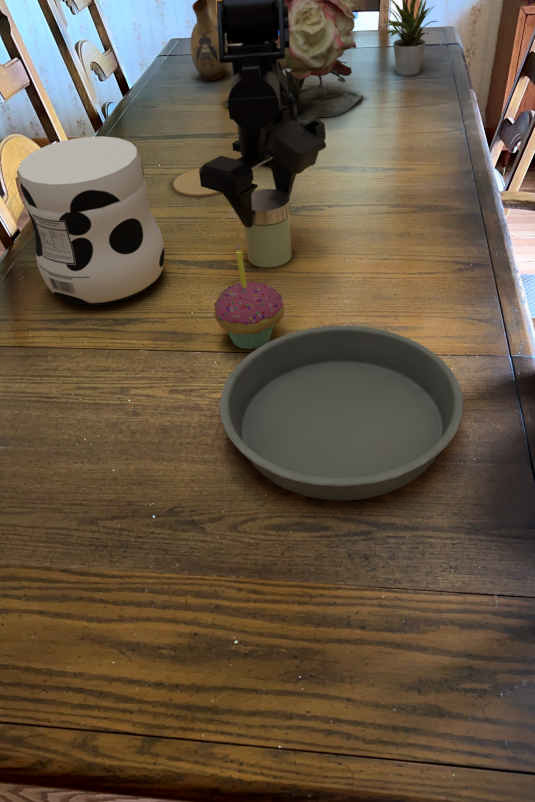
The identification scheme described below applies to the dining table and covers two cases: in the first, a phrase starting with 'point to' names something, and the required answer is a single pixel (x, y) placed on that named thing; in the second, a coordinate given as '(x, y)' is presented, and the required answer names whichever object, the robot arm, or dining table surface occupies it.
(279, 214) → the lid
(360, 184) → the dining table surface
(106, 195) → the milk container
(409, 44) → the house plant
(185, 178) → the coaster
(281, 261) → the jar
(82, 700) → the dining table surface
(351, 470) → the cake pan
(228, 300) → the cupcake
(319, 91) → the rose bouquet
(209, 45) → the ceramic vessel
